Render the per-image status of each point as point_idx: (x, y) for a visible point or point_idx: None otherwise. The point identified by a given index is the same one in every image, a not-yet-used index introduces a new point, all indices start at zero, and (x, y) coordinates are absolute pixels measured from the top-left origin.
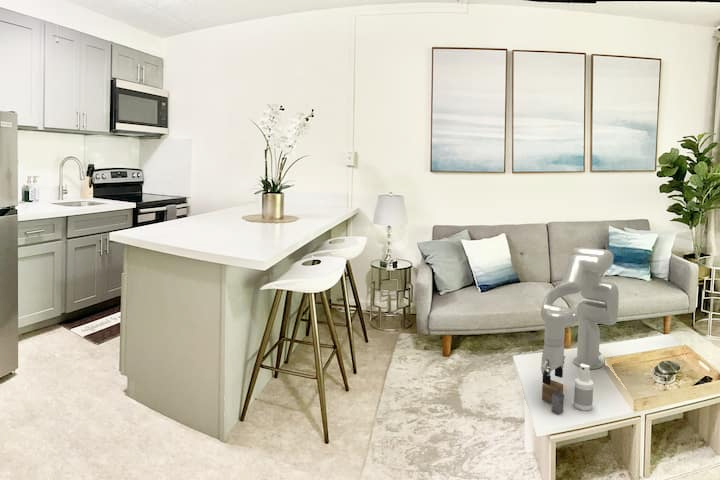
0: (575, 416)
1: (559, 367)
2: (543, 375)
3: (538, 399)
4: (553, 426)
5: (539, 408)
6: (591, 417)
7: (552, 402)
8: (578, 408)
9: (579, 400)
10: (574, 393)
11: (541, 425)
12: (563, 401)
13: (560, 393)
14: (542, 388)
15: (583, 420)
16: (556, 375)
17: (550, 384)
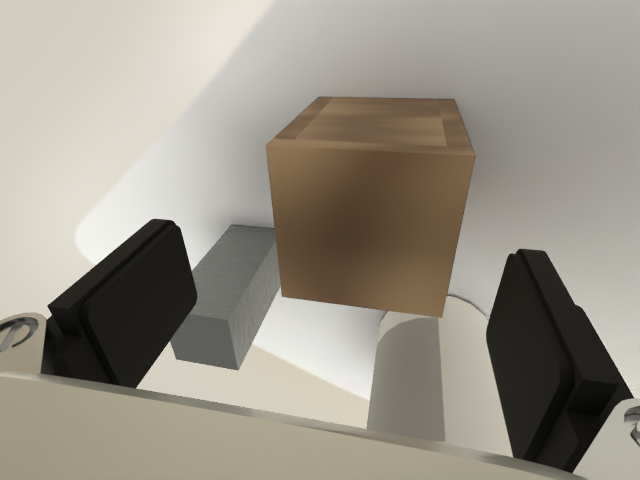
0: (294, 328)
1: (553, 465)
2: (81, 294)
3: (304, 68)
4: None
5: (197, 149)
6: (346, 379)
7: (199, 267)
8: (379, 328)
9: (373, 377)
10: (401, 370)
11: (80, 239)
12: (258, 324)
13: (228, 350)
14: (285, 130)
15: (290, 360)
16: (503, 283)
17: (331, 222)
